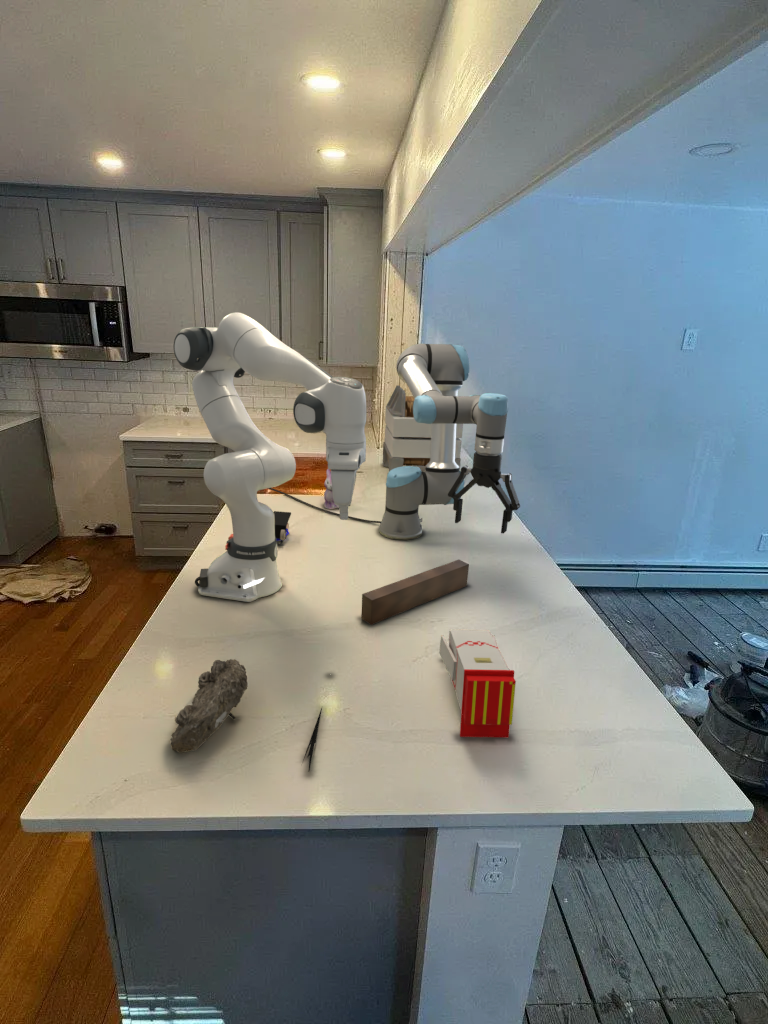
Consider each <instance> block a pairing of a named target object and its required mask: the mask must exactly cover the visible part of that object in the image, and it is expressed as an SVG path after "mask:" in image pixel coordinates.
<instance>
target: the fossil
mask: <svg viewBox="0 0 768 1024" xmlns="http://www.w3.org/2000/svg"><path fill="white" fill-rule="evenodd" d="M197 683H198V684H197V687H198V690H197V691H196V693H195V694H194V697H193V698H192V701H191V704H187V705H185V706H184V707H183V708H182V709H181V710H179V712H178V713H177V715H176V717H175V719H174V721H175V723H176V725H177V726H176V728H175V730H174V731H173V732H172V733H171V735H170V736H171V738H170V747H171V750H172V751H176V752H178V753H186V752H190V751H193V752H195V751H197V750H198V749H199V748H200V747H201V746H202V745H203V744H204V743H205V742H207V741H208V740H209V739H210V737H211V736H212V735H213V734H215V733H216V731H218V730H219V729H220V728H221V726H222V725H223V723H224V721H225V720H226V719H227V718H228V717H230V718H232V720H235V719H236V716H235V715H234V714H233V713H232V710H233V709H235V708H237V706H238V705H239V704H240V702H241V700H242V698H243V696H244V693H245V691H246V690H247V689H248V686H249V685H248V675H247V669H246V668H245V666H244V665H243V664H241V663H240V661H238V660H237V659H236V658H234V659H232V658H230V659H226V660H221V659H216V660H214V661H213V662H212V665H211V667H210V671H208V670H207V671H205V672H201V674H200V675H199V676H198V681H197Z"/></svg>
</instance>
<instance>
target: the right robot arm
mask: <svg viewBox="0 0 768 1024" xmlns="http://www.w3.org/2000/svg"><path fill="white" fill-rule="evenodd" d="M395 368H396V372H397V375H398V377H399V379H400V380H401V381H402V382H403V383H405V384H406V386H407V388H408V390H409V391H410V393H411V396H413V397H414V399H415V400H414V404H413V414H414V419H415V421H416V422H418V423H426V424H431V449H430V462H429V463H428V464H427V465H426V466H425V470H423V471H422V469H421V467H420V466H406V465H404V466H402V467H397V468H394V469H392V470H390V471H389V470H388V472H387V475H386V480H385V504H384V505H385V507H384V508H385V509H384V513H383V515H382V519H381V520H369V519H365V518H364V519H363V518H358V517H354V516H350V515H348V519H350V520H355V521H359V522H365V523H371V524H379V525H378V533H379V534H380V535H381V536H382V537H385V538H387V539H389V540H395V541H410V540H415V539H418V538H420V537H421V536H422V535H423V525H422V524H421V523H422V522H423V517H421V518H420V515H419V507H420V506H427V505H428V506H433V505H434V506H435V505H444V506H447V505H452V510H453V511H455V515H454V523H455V524H458V523H459V522H461V521H462V512H463V503H464V499H463V498H462V497H463V496H464V495H465V494H466V493H467V492H468V491H469V490H470V489H472V488H473V487H474V486H475V485H477V486H478V487H484V488H488V489H489V488H491V490H493V491H494V493H495V494H496V496H497V497H498V498H499V500H500V501H501V503H502V505H503V507H504V508H505V509H503V511H502V512H503V513H502V519H501V520H502V521H501V527H500V528H501V529H500V534H503V535H504V534H505V533H506V532H508V523H510V522H511V521H512V519H513V511H517V510H519V509H520V508H521V503H520V501H519V498H518V495H517V491H516V488H515V486H514V484H513V474H512V473H511V472H508V473H502V471H501V470H502V461H503V452H504V445H505V435H506V425H507V418H508V412H509V398H508V396H507V395H505V394H502V393H493V392H487V393H482V394H470V395H459V394H458V392H459V390H460V389H461V388H462V387H463V384H464V383H463V382H465V381H467V380H468V378H469V373H470V357H469V355H468V352H467V350H466V348H465V347H464V346H462V345H459V344H452V343H448V344H447V343H446V344H445V343H444V344H443V343H416V344H412V345H411V346H408V347H406V348H405V349H404V350H403V351H402V352H401V353H400V354H399V356H398V358H397V361H396V367H395ZM456 424H463V425H476V429H475V440H474V453H473V460H472V467H469V465H464V466H462V467H460V471H459V466H458V465H457V464H456V463H455V446H456ZM468 475H471V477H472V478H473V479H471V480H470V481H468V483H467V484H466V485H465V478H466V477H467V476H468ZM501 479H502V482H503V483H504V486H505V489H506V492H507V493H506V492H505V490H504V489H503V487H502V484H501V483H500V480H501ZM266 490H270V491H274V492H276V493H279V494H282V495H283V496H286V497H289V498H291V499H293V500H295V501H298V502H299V503H302V504H304V505H306V506H309V507H311V508H314V509H316V510H318V511H322V512H325V513H327V514H331V515H334V516H338V517H340V513H337V512H334V511H330V510H328V509H324V508H321V507H319V506H315V505H313V504H310V503H308V502H306V501H303V500H301V499H300V498H298V497H295V496H293V495H291V494H288V493H286V492H284V491H281V490H278V489H275V488H274V487H272V488H267V489H266Z"/></svg>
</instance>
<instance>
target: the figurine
mask: <svg viewBox="0 0 768 1024" xmlns="http://www.w3.org/2000/svg"><path fill="white" fill-rule="evenodd" d="M323 485H324V487H325V490H324V493H323V499H324V502H323V505H324V508H325V509H331V510H334V509H339V505H335V504H334V500H333V493H332V482H331V469H328V468H327V469H326V479H325V481H324V484H323Z"/></svg>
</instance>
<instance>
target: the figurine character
mask: <svg viewBox="0 0 768 1024" xmlns="http://www.w3.org/2000/svg"><path fill="white" fill-rule="evenodd" d="M273 513H274V518H275V537H276V540H277V542H278V541H279V545H282V544H283V542H284V541H285V540H286V539H287V536H289V535H290V532H289V528H290V526H289V525H290V524H289V520H290V518H291V516H292V512H290V511H279V510H277V511H276V510H274V511H273Z"/></svg>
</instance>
